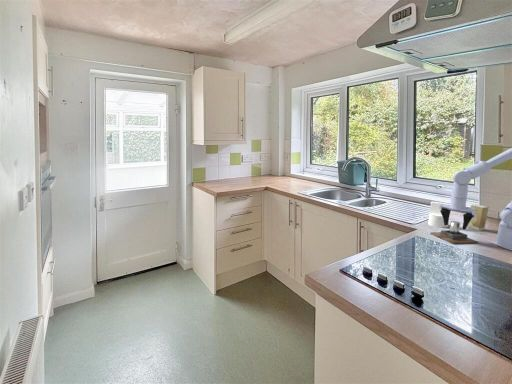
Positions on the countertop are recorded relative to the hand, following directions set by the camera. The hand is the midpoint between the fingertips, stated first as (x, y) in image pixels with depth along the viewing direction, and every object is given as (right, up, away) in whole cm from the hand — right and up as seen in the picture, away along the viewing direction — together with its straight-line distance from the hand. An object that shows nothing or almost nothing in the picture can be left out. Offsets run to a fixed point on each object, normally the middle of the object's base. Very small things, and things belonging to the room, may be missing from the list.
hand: (455, 227), depth 137 cm
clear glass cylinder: (0, -5, +1) cm, 5 cm away
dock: (0, -5, +1) cm, 6 cm away
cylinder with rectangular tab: (+6, -2, +23) cm, 24 cm away
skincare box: (+22, -3, +17) cm, 28 cm away
